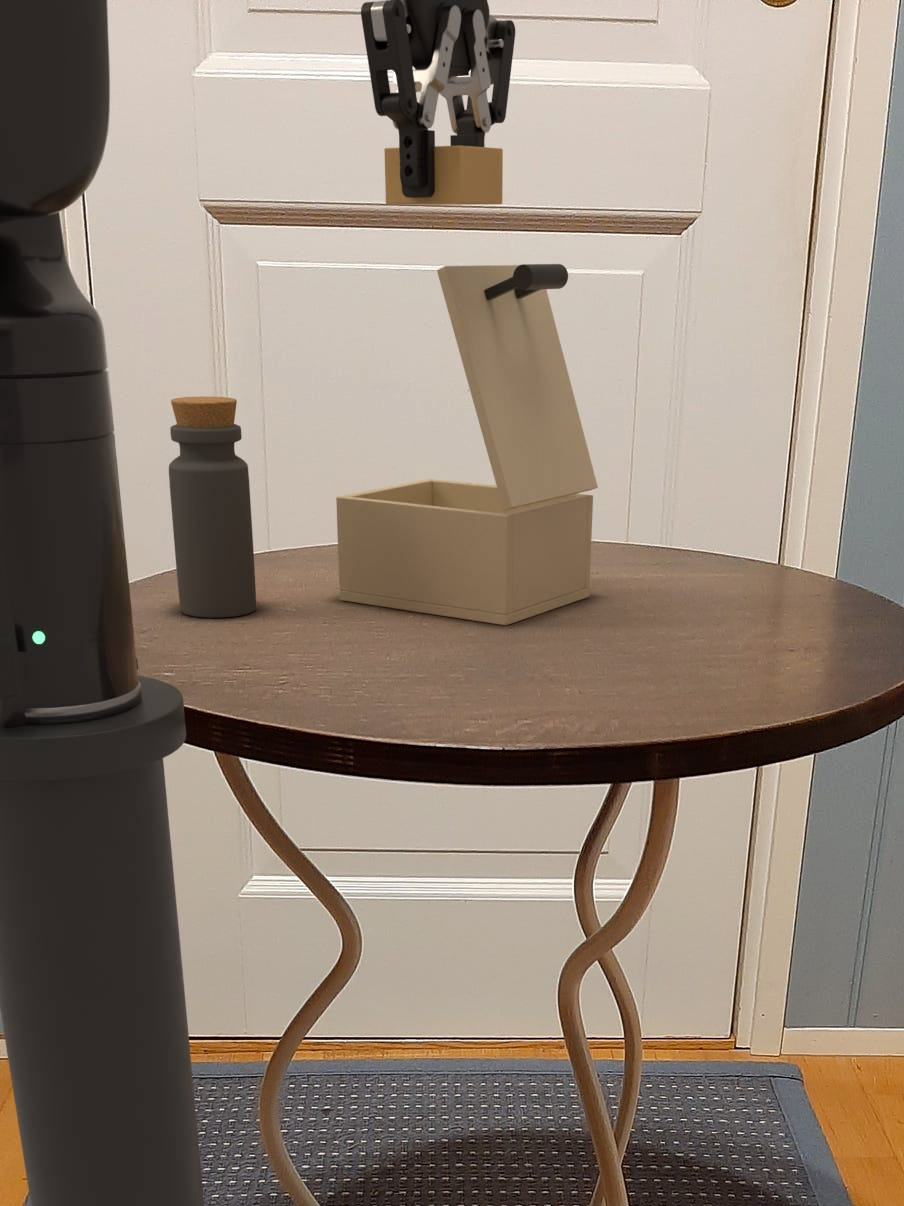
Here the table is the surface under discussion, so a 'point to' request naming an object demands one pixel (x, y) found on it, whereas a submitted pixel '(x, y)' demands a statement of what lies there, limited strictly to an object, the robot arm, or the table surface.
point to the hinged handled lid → (519, 379)
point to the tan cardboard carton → (452, 177)
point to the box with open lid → (463, 551)
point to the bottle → (211, 510)
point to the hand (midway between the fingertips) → (443, 196)
